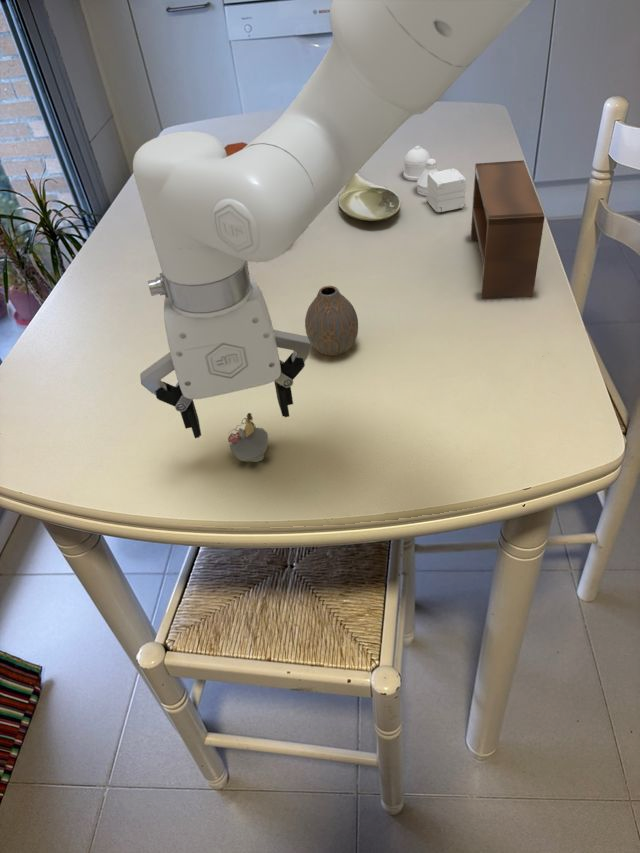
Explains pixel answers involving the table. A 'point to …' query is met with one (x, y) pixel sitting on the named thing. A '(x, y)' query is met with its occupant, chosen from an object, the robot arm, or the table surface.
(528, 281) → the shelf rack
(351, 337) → the vase
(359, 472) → the table surface
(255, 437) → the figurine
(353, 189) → the spoon
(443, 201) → the container set
